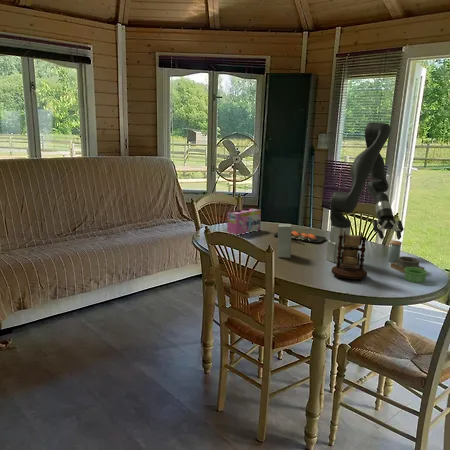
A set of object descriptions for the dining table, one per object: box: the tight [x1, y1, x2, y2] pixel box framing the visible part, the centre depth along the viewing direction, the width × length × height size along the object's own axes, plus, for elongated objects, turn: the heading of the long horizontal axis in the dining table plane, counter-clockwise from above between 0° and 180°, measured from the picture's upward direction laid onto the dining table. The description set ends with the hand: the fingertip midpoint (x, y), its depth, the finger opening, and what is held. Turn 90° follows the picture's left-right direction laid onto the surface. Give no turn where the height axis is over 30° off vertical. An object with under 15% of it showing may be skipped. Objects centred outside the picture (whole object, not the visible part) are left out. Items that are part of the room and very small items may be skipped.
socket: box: [390, 255, 425, 274], centre depth 187 cm, size 10×10×5 cm
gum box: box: [226, 207, 262, 235], centre depth 250 cm, size 24×8×14 cm, turn 136°
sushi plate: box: [273, 230, 327, 246], centre depth 234 cm, size 29×30×4 cm
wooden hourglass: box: [331, 231, 368, 282], centre depth 175 cm, size 15×15×20 cm
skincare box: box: [277, 223, 293, 259], centre depth 203 cm, size 8×7×16 cm
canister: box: [387, 239, 403, 264], centre depth 198 cm, size 5×5×10 cm
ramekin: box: [403, 267, 428, 284], centre depth 174 cm, size 9×9×4 cm
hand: (390, 238), depth 203 cm, fingers open, 8 cm apart
